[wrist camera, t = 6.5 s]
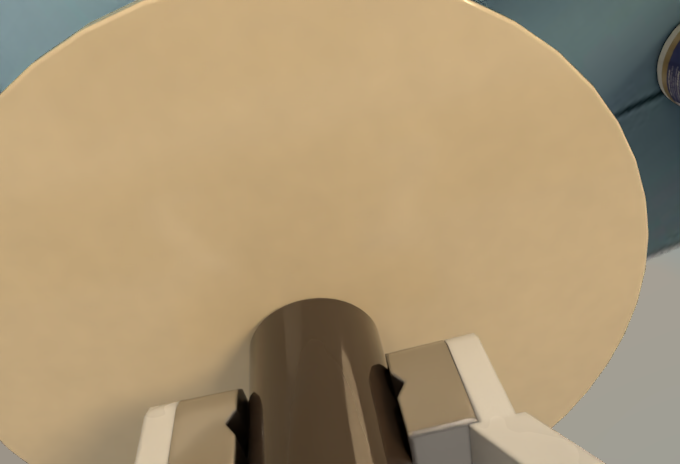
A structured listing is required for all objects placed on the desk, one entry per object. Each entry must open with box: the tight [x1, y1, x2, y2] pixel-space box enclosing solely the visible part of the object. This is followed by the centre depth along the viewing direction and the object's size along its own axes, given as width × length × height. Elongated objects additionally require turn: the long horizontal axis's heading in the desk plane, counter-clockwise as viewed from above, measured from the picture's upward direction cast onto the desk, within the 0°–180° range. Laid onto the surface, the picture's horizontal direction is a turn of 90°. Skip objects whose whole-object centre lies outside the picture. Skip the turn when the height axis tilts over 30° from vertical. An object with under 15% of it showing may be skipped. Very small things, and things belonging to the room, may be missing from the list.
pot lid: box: [0, 0, 648, 464], centre depth 9 cm, size 13×13×5 cm
